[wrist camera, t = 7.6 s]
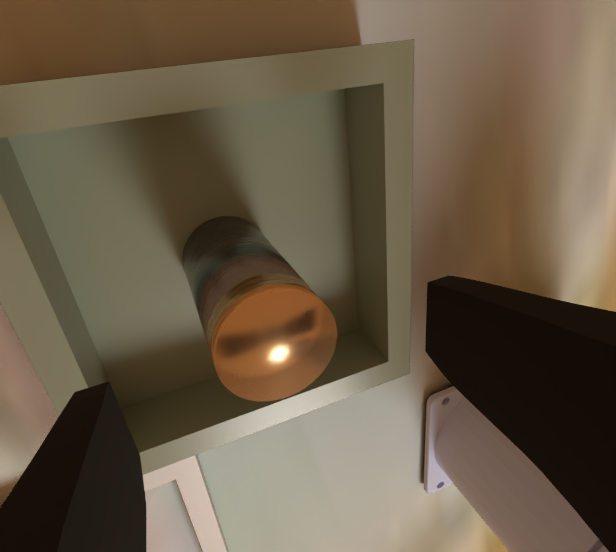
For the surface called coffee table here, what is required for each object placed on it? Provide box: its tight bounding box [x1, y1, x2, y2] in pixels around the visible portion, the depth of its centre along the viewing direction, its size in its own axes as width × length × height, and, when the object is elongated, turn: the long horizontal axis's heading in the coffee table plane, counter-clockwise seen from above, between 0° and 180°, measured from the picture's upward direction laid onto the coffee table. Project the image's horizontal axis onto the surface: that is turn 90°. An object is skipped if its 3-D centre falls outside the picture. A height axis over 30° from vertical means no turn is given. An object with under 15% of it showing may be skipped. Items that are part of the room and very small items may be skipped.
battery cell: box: [182, 216, 337, 401], centre depth 12 cm, size 3×3×6 cm
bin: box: [0, 39, 414, 475], centre depth 14 cm, size 12×12×3 cm
